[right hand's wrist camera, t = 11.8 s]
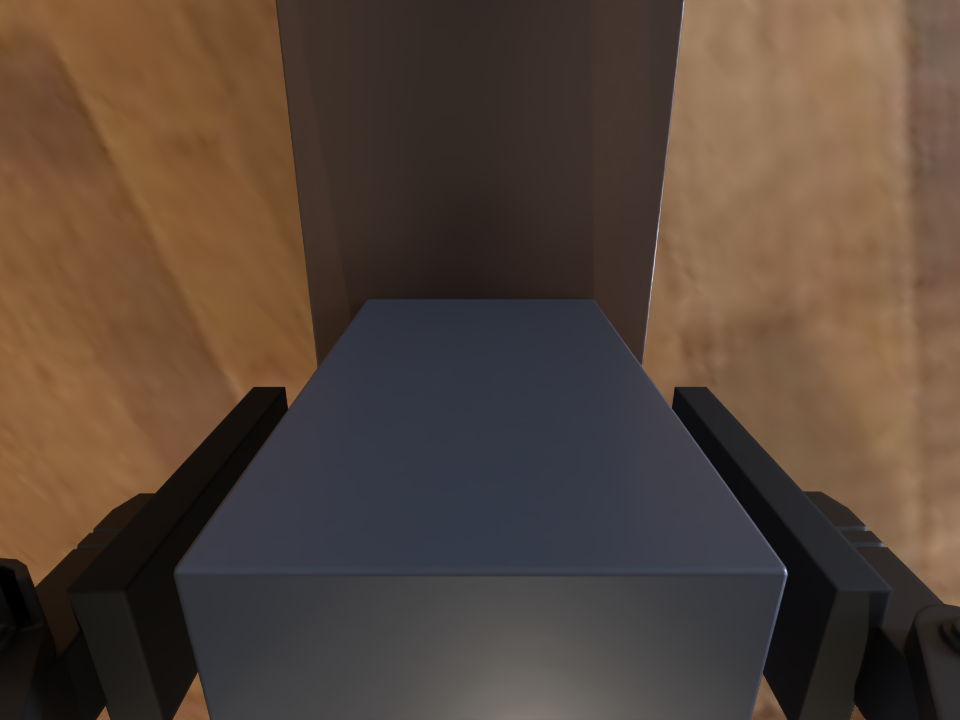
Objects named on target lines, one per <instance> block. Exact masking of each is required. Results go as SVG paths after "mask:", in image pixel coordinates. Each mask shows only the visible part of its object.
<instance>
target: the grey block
mask: <svg viewBox="0 0 960 720" xmlns="http://www.w3.org/2000/svg"><path fill="white" fill-rule="evenodd" d="M174 579H175V583H176V587H177V591H178V595H179V598H180V602H181V606H182V610H183V614H184V618H185V622H186V626H187V630H188V634H189V638H190V642H191V646H192V650H193V654H194V658H195V662H196V665H197V669H198V673H199V677H200V681H201V685H202V689H203V693H204V697H205V701H206V705H207V709H208V713H209V717H210V720H751V717H752V713H753V709H754V705H755V701H756V697H757V693H758V689H759V685H760V681H761V677H762V673H763V670H764V666H765V662H766V658H767V654H768V650H769V646H770V642H771V638H772V634H773V630H774V626H775V622H776V619H777V615H778V611H779V607H780V603H781V599H782V595H783V591H784V587H785V583H786V579H787V570H786V567H785V565H784V564H783V563H782V561H781V560H780V558H779V557H778V556H777V554H776V553H775V551H774V550H773V549H772V547H771V546H770V545H769V543H768V542H767V540H766V539H765V538H764V536H763V535H762V533H761V532H760V531H759V529H758V528H757V526H756V525H755V524H754V522H753V521H752V519H751V518H750V517H749V515H748V514H747V512H746V511H745V510H744V508H743V507H742V505H741V504H740V503H739V501H738V500H737V499H736V497H735V496H734V494H733V493H732V492H731V490H730V489H729V487H728V486H727V485H726V483H725V482H724V480H723V479H722V478H721V476H720V475H719V473H718V472H717V471H716V469H715V468H714V466H713V465H712V464H711V462H710V461H709V460H708V458H707V457H706V455H705V454H704V453H703V451H702V450H701V448H700V447H699V446H698V444H697V443H696V441H695V440H694V439H693V437H692V436H691V434H690V433H689V432H688V430H687V429H686V427H685V426H684V425H683V423H682V422H681V421H680V419H679V418H678V416H677V415H676V414H675V412H674V411H673V409H672V408H671V407H670V405H669V404H668V402H667V401H666V400H665V398H664V397H663V395H662V394H661V393H660V391H659V390H658V388H657V387H656V386H655V384H654V383H653V381H652V380H651V379H650V377H649V376H648V375H647V373H646V372H645V370H644V369H643V368H642V366H641V365H640V363H639V362H638V361H637V359H636V358H635V356H634V355H633V354H632V352H631V351H630V349H629V348H628V347H627V345H626V344H625V342H624V341H623V340H622V338H621V337H620V336H619V334H618V333H617V331H616V330H615V329H614V327H613V326H612V324H611V323H610V322H609V320H608V319H607V317H606V316H605V315H604V313H603V312H602V310H601V309H600V308H599V306H598V305H597V303H596V302H595V301H594V300H593V299H367V300H366V301H365V303H364V304H363V305H362V307H361V308H360V310H359V311H358V312H357V314H356V315H355V317H354V318H353V319H352V321H351V322H350V324H349V325H348V326H347V328H346V329H345V331H344V332H343V333H342V335H341V336H340V338H339V339H338V340H337V342H336V343H335V345H334V346H333V347H332V349H331V350H330V352H329V353H328V354H327V356H326V357H325V359H324V360H323V361H322V363H321V364H320V366H319V367H318V368H317V370H316V371H315V373H314V374H313V375H312V377H311V378H310V380H309V381H308V382H307V384H306V385H305V387H304V388H303V389H302V391H301V392H300V394H299V395H298V396H297V398H296V399H295V401H294V402H293V403H292V405H291V406H290V408H289V409H288V410H287V412H286V413H285V415H284V416H283V417H282V419H281V420H280V422H279V423H278V424H277V426H276V427H275V429H274V430H273V431H272V433H271V434H270V436H269V437H268V438H267V440H266V441H265V443H264V444H263V445H262V447H261V448H260V449H259V451H258V452H257V454H256V455H255V456H254V458H253V459H252V461H251V462H250V463H249V465H248V466H247V468H246V469H245V470H244V472H243V473H242V475H241V476H240V477H239V479H238V480H237V482H236V483H235V484H234V486H233V487H232V489H231V490H230V491H229V493H228V494H227V496H226V497H225V498H224V500H223V501H222V503H221V504H220V505H219V507H218V508H217V510H216V511H215V512H214V514H213V515H212V517H211V518H210V519H209V521H208V522H207V524H206V525H205V526H204V528H203V529H202V531H201V532H200V533H199V535H198V536H197V538H196V539H195V540H194V542H193V543H192V545H191V546H190V547H189V549H188V550H187V552H186V553H185V554H184V556H183V557H182V559H181V560H180V561H179V563H178V564H177V566H176V567H175V570H174Z"/></svg>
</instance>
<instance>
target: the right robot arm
mask: <svg viewBox="0 0 960 720" xmlns="http://www.w3.org/2000/svg"><path fill="white" fill-rule="evenodd" d="M672 409H673V411H674V412H675V414H676V415H677V416H678V418H679V419H680V421H681V422H682V423H683V425H684V426H685V427H686V429H687V430H688V432H689V433H690V434H691V436H692V437H693V439H694V440H695V441H696V443H697V444H698V446H699V447H700V448H701V450H702V451H703V453H704V454H705V455H706V457H707V458H708V460H709V461H710V462H711V464H712V465H713V466H714V468H715V469H716V471H717V472H718V473H719V475H720V476H721V478H722V479H723V480H724V482H725V483H726V485H727V486H728V487H729V489H730V490H731V492H732V493H733V494H734V496H735V497H736V499H737V500H738V501H739V503H740V504H741V505H742V507H743V508H744V510H745V511H746V512H747V514H748V515H749V517H750V518H751V519H752V521H753V522H754V524H755V525H756V526H757V528H758V529H759V531H760V532H761V533H762V535H763V536H764V538H765V539H766V540H767V542H768V543H769V545H770V546H771V547H772V549H773V550H774V551H775V553H776V554H777V556H778V557H779V558H780V560H781V561H782V563H783V564H784V565H785V567H786V570H787V579H786V583H785V587H784V591H783V595H782V599H781V603H780V607H779V611H778V615H777V619H776V622H775V626H774V630H773V634H772V638H771V642H770V646H769V650H768V654H767V658H766V662H765V666H764V670H763V675H764V676H765V678H766V680H767V682H768V684H769V686H770V688H771V690H772V691H773V693H774V695H775V697H776V699H777V701H778V703H779V705H780V706H781V708H782V710H783V712H784V714H785V716H786V718H787V720H850V717H851V714H852V711H853V708H854V705H855V704H856V706H857V707H858V709H859V710H860V712H861V713H862V715H863V716H864V718H865V719H866V720H960V607H958V606H952V605H947V604H944V603H943V602H942V601H941V600H940V599H939V598H938V597H937V596H936V595H935V594H934V593H933V592H932V591H931V590H930V589H929V588H928V587H927V586H926V585H925V584H924V583H923V582H922V581H921V580H920V579H919V578H918V577H917V576H916V575H915V574H914V573H913V572H912V571H911V570H910V569H909V568H908V567H907V566H906V565H905V564H904V563H903V562H902V561H901V560H900V559H899V558H898V557H897V556H896V555H895V554H894V553H893V552H892V551H891V550H890V549H889V548H888V547H884V546H883V542H881V541H880V540H879V539H878V538H877V537H876V536H875V535H874V534H873V533H872V532H871V531H868V530H867V527H866V526H865V525H864V524H863V523H862V522H861V521H860V520H859V519H858V518H857V517H856V516H855V515H854V514H853V513H852V512H851V511H850V510H849V509H848V508H847V507H845V506H844V505H842V504H840V503H839V502H837V501H835V500H834V499H832V498H830V497H829V496H827V495H825V494H824V493H822V492H803V491H802V490H801V489H800V488H799V487H798V486H797V485H796V484H795V483H794V481H793V480H792V479H791V478H790V477H789V476H788V475H787V474H786V473H785V472H784V471H783V470H782V468H781V467H780V466H779V465H778V464H777V463H776V462H775V461H774V460H773V459H772V458H771V457H770V455H769V454H768V453H767V452H766V451H765V450H764V449H763V448H762V447H761V446H760V445H759V444H758V442H757V441H756V440H755V439H754V438H753V437H752V436H751V435H750V434H749V433H748V432H747V431H746V429H745V428H744V427H743V426H742V425H741V424H740V423H739V422H738V421H737V420H736V419H735V418H734V416H733V415H732V414H731V413H730V412H729V411H728V410H727V409H726V408H725V407H724V406H723V405H722V403H721V402H720V401H719V400H718V399H717V398H716V397H715V396H714V395H713V394H712V393H711V392H710V390H709V389H708V388H707V387H675V390H674V397H673V405H672ZM287 410H288V405H287V398H286V390H285V387H253V388H252V389H251V390H250V392H249V393H248V394H247V395H246V396H245V397H244V398H243V399H242V400H241V401H240V402H239V403H238V405H237V406H236V407H235V408H234V409H233V410H232V411H231V412H230V413H229V414H228V415H227V416H226V418H225V419H224V420H223V421H222V422H221V423H220V424H219V425H218V426H217V427H216V428H215V429H214V431H213V432H212V433H211V434H210V435H209V436H208V437H207V438H206V439H205V440H204V441H203V442H202V444H201V445H200V446H199V447H198V448H197V449H196V450H195V451H194V452H193V453H192V454H191V455H190V457H189V458H188V459H187V460H186V461H185V462H184V463H183V464H182V465H181V466H180V467H179V468H178V470H177V471H176V472H175V473H174V474H173V475H172V476H171V477H170V478H169V479H168V480H167V481H166V482H165V484H164V485H163V486H162V487H161V488H160V489H159V490H158V491H157V492H156V493H140V494H138V495H136V496H135V497H133V498H131V499H130V500H128V501H126V502H125V503H123V504H122V505H120V506H118V507H117V508H115V509H113V510H112V511H111V512H110V513H109V514H108V515H107V516H106V517H105V518H104V519H103V520H102V521H101V522H100V523H99V524H98V525H97V526H96V527H95V528H94V531H93V533H89V534H88V535H87V536H86V537H85V538H84V539H83V540H82V541H81V542H80V543H79V544H78V545H77V546H78V547H77V549H73V550H72V551H71V552H70V553H69V554H68V555H67V556H66V557H65V558H64V559H63V560H62V561H61V562H60V563H59V564H58V565H57V566H56V567H55V568H54V569H53V570H52V571H51V572H50V573H49V574H48V575H47V576H46V577H45V578H44V579H43V580H42V581H41V582H40V583H39V584H38V585H37V586H36V587H34V584H33V582H32V579H31V576H30V573H29V571H28V568H27V566H26V565H25V564H23V563H22V562H20V561H19V560H17V559H5V558H0V720H96V719H97V718H98V716H99V715H100V713H101V712H102V710H103V709H104V707H105V706H106V708H107V711H108V714H109V717H110V720H173V718H174V716H175V714H176V712H177V710H178V708H179V706H180V705H181V703H182V701H183V699H184V697H185V695H186V693H187V691H188V690H189V688H190V686H191V684H192V682H193V680H194V678H195V676H196V675H197V673H198V669H197V665H196V662H195V658H194V654H193V650H192V646H191V642H190V638H189V634H188V630H187V626H186V622H185V618H184V614H183V610H182V606H181V602H180V598H179V595H178V591H177V587H176V583H175V579H174V570H175V567H176V566H177V564H178V563H179V561H180V560H181V559H182V557H183V556H184V554H185V553H186V552H187V550H188V549H189V547H190V546H191V545H192V543H193V542H194V540H195V539H196V538H197V536H198V535H199V533H200V532H201V531H202V529H203V528H204V526H205V525H206V524H207V522H208V521H209V519H210V518H211V517H212V515H213V514H214V512H215V511H216V510H217V508H218V507H219V505H220V504H221V503H222V501H223V500H224V498H225V497H226V496H227V494H228V493H229V491H230V490H231V489H232V487H233V486H234V484H235V483H236V482H237V480H238V479H239V477H240V476H241V475H242V473H243V472H244V470H245V469H246V468H247V466H248V465H249V463H250V462H251V461H252V459H253V458H254V456H255V455H256V454H257V452H258V451H259V449H260V448H261V447H262V445H263V444H264V443H265V441H266V440H267V438H268V437H269V436H270V434H271V433H272V431H273V430H274V429H275V427H276V426H277V424H278V423H279V422H280V420H281V419H282V417H283V416H284V415H285V413H286V412H287Z"/></svg>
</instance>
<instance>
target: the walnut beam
mask: <svg viewBox="0 0 960 720" xmlns="http://www.w3.org/2000/svg"><path fill="white" fill-rule="evenodd" d="M684 4H685V0H276V8H277V17H278V25H279V34H280V43H281V51H282V60H283V69H284V78H285V86H286V95H287V104H288V112H289V121H290V130H291V139H292V147H293V156H294V165H295V174H296V182H297V191H298V200H299V208H300V217H301V226H302V235H303V243H304V252H305V261H306V269H307V278H308V287H309V296H310V304H311V313H312V322H313V330H314V339H315V348H316V357H317V365H318V367H319V366H320V364H321V363H322V361H323V360H324V359H325V357H326V356H327V354H328V353H329V352H330V350H331V349H332V347H333V346H334V345H335V343H336V342H337V340H338V339H339V338H340V336H341V335H342V333H343V332H344V331H345V329H346V328H347V326H348V325H349V324H350V322H351V321H352V319H353V318H354V317H355V315H356V314H357V312H358V311H359V310H360V308H361V307H362V305H363V304H364V303H365V301H366V300H367V299H593V300H594V301H595V302H596V303H597V305H598V306H599V308H600V309H601V310H602V312H603V313H604V315H605V316H606V317H607V319H608V320H609V322H610V323H611V324H612V326H613V327H614V329H615V330H616V331H617V333H618V334H619V336H620V337H621V338H622V340H623V341H624V342H625V344H626V345H627V347H628V348H629V349H630V351H631V352H632V354H633V355H634V356H635V358H636V359H637V361H638V362H639V363H640V365H641V366H642V368H643V360H644V352H645V343H646V334H647V326H648V317H649V308H650V299H651V291H652V282H653V273H654V265H655V256H656V247H657V239H658V230H659V221H660V213H661V204H662V195H663V186H664V178H665V169H666V160H667V152H668V143H669V134H670V126H671V117H672V108H673V100H674V91H675V82H676V73H677V65H678V56H679V47H680V39H681V30H682V21H683V13H684Z"/></svg>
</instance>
